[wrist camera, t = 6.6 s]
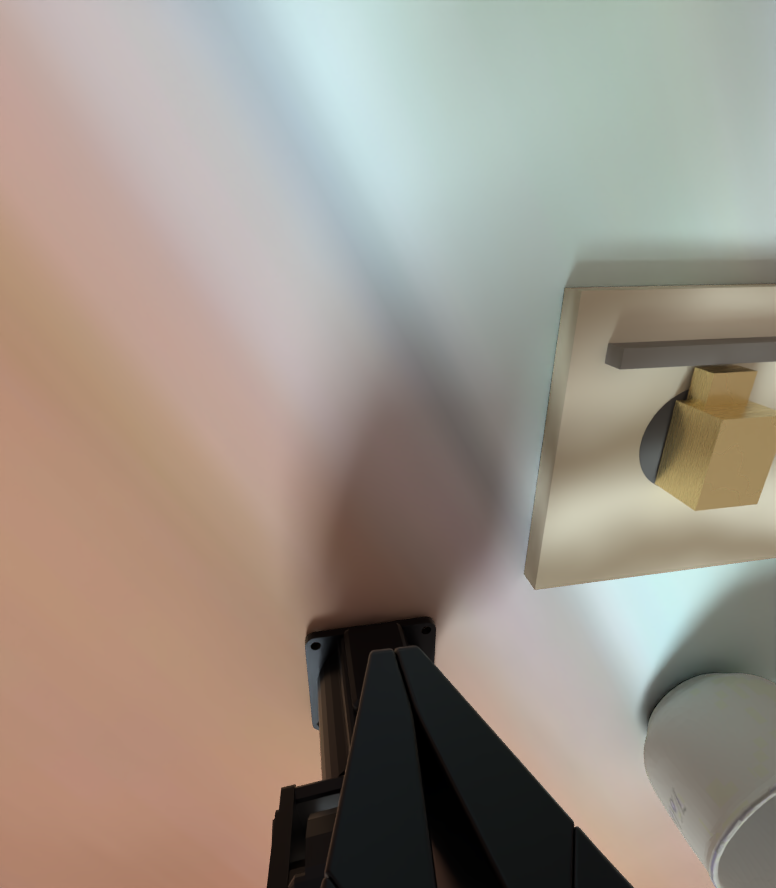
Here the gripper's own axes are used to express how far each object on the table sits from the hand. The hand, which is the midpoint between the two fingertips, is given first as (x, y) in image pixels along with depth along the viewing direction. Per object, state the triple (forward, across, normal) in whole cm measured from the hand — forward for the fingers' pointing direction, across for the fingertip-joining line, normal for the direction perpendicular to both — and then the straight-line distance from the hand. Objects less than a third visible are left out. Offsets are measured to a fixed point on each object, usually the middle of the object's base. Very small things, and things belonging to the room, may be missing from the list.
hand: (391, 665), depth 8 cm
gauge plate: (+12, -19, +1) cm, 22 cm away
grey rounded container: (+12, -25, +22) cm, 36 cm away
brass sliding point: (+11, -16, +1) cm, 19 cm away
